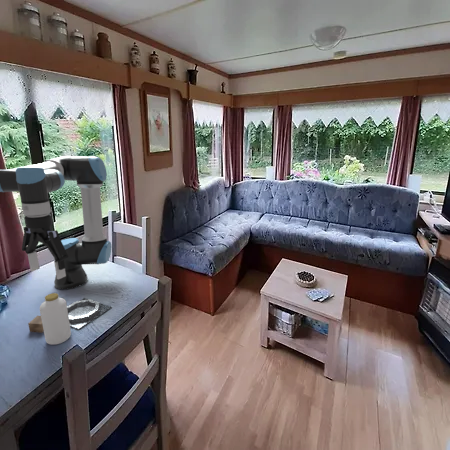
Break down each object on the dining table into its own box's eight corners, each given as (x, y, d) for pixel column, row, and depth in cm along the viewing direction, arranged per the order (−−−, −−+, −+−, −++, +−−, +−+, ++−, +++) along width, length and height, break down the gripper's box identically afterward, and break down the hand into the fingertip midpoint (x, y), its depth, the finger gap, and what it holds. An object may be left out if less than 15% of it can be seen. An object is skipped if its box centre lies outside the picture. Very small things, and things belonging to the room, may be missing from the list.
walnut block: (30, 332, 106) (28, 323, 105) (39, 324, 111) (37, 315, 110) (42, 332, 106) (40, 324, 105) (51, 324, 111) (49, 316, 110)
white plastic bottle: (53, 331, 107) (45, 290, 102) (75, 330, 107) (69, 289, 102) (41, 346, 99) (32, 302, 94) (65, 345, 99) (57, 302, 94)
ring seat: (49, 318, 114) (48, 314, 114) (84, 298, 129) (83, 294, 129) (78, 330, 108) (78, 325, 107) (111, 307, 123) (111, 303, 122)
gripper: (1, 212, 91) (14, 271, 97) (52, 222, 82) (62, 286, 88) (25, 208, 98) (35, 263, 104) (74, 216, 88) (83, 276, 94)
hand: (48, 273), depth 96 cm, fingers open, 13 cm apart
